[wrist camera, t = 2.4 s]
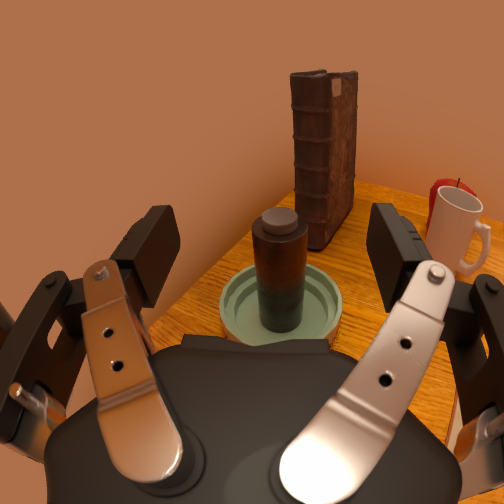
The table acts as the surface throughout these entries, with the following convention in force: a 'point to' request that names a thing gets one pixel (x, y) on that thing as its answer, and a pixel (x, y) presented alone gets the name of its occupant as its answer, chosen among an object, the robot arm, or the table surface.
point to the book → (324, 149)
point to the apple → (435, 189)
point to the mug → (456, 230)
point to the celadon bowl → (247, 310)
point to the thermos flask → (280, 267)
